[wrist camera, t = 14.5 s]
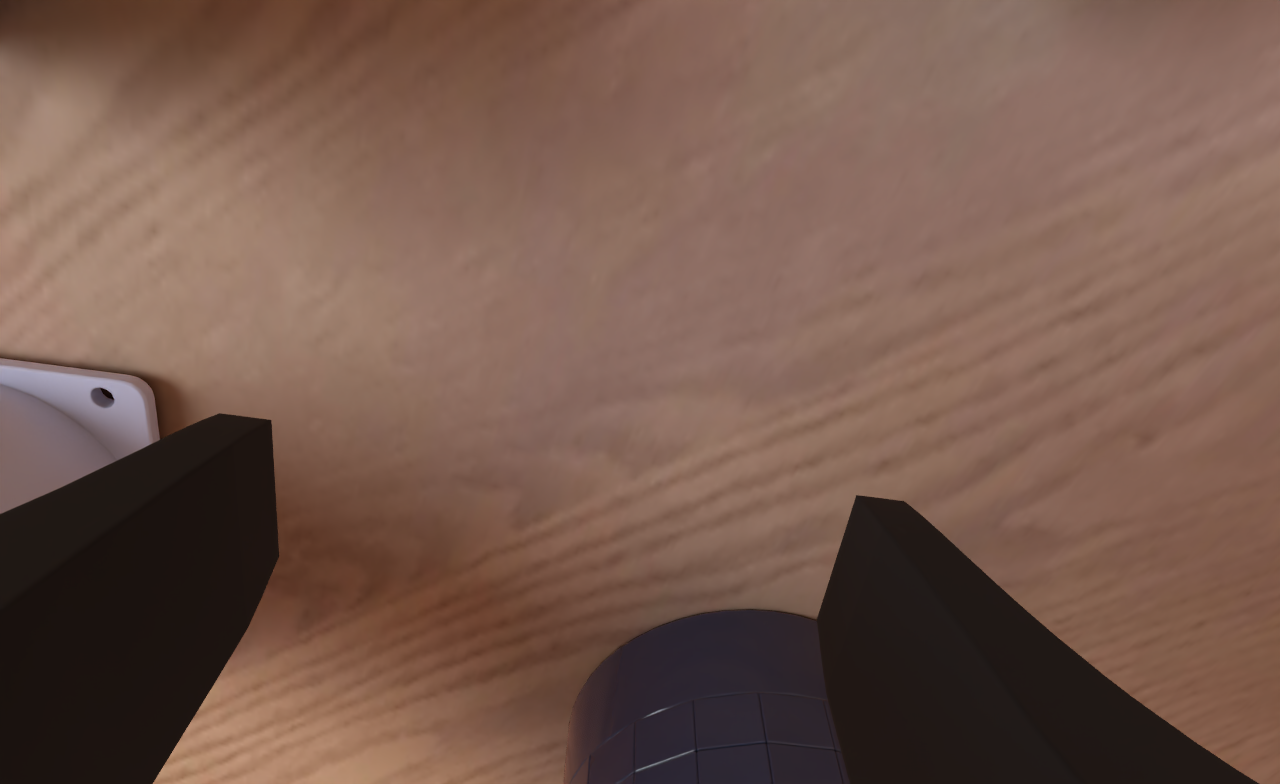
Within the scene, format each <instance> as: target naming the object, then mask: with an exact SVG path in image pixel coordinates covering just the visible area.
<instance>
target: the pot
mask: <svg viewBox="0 0 1280 784" xmlns="http://www.w3.org/2000/svg"><path fill="white" fill-rule="evenodd" d="M563 784H850V781H849V778H848V774H847V770H846V767H845V763H844V759H843V756H842V752H841V748H840V745H839V741H838V737H837V733H836V729H835V726H834V722H833V718H832V714H831V710H830V706H829V702H828V698H827V694H826V688H825V681H824V674H823V667H822V660H821V652H820V643H819V634H818V626H817V621H816V620H813V619H809V618H806V617H802V616H799V615H794V614H788V613H782V612H776V611H764V610H725V611H718V612H711V613H703V614H699V615H694V616H690V617H686V618H682V619H678V620H675V621H673V622H670V623H667V624H664V625H661V626H659V627H656V628H654V629H652V630H650V631H648V632H646V633H644V634H642V635H640V636H638V637H636V638H634V639H633V640H631V641H630V642H628V643H627V644H625V645H623V646H622V647H620V648H619V649H618V650H616V651H615V652H614V653H613V654H612V655H610V656H609V657H608V658H607V659H606V660H604V661H603V662H602V664H601V665H600V666H599V667H598V668H597V669H596V670H595V671H594V672H593V673H592V675H591V676H590V677H589V679H588V680H587V682H586V683H585V685H584V686H583V688H582V689H581V691H580V693H579V695H578V697H577V699H576V702H575V704H574V706H573V710H572V714H571V718H570V721H569V730H568V740H567V750H566V761H565V771H564V781H563Z"/></svg>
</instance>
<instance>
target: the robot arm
mask: <svg viewBox="0 0 1280 784" xmlns="http://www.w3.org/2000/svg"><path fill="white" fill-rule="evenodd" d="M100 388H103V389H106V390H108V391H109V392H110V393H111V394H112V395H113V397H114V399H115V400H112V399H109V398H107V397H106V396H105V395H104V394H103V393H102V391H101V389H100ZM278 557H279V547H278V529H277V512H276V494H275V476H274V459H273V441H272V424H271V420H267V419H259V418H251V417H243V416H236V415H228V414H217V415H214V416H212V417H209V418H207V419H204V420H202V421H199V422H197V423H195V424H193V425H190V426H188V427H186V428H184V429H182V430H180V431H177V432H175V433H173V434H171V435H169V436H167V437H165V438H163V439H161V440H160V436H159V428H158V421H157V413H156V405H155V397H154V394H153V391H152V389H151V388H150V386H149V385H148V384H147V383H146V382H145V381H143V380H142V379H140V378H138V377H135V376H132V375H126V374H118V373H111V372H103V371H95V370H88V369H80V368H72V367H65V366H57V365H49V364H42V363H34V362H26V361H19V360H11V359H3V358H0V784H153V782H154V780H155V779H156V777H157V775H158V774H159V772H160V771H161V769H162V767H163V766H164V764H165V763H166V761H167V759H168V758H169V756H170V754H171V753H172V751H173V750H174V748H175V746H176V745H177V743H178V741H179V740H180V738H181V737H182V735H183V733H184V732H185V730H186V729H187V727H188V725H189V724H190V722H191V720H192V719H193V717H194V716H195V714H196V712H197V711H198V709H199V707H200V706H201V704H202V703H203V701H204V699H205V698H206V696H207V695H208V693H209V691H210V690H211V688H212V686H213V685H214V683H215V681H216V680H217V678H218V677H219V675H220V673H221V672H222V670H223V668H224V667H225V665H226V663H227V662H228V660H229V658H230V657H231V655H232V653H233V652H234V650H235V648H236V647H237V645H238V643H239V642H240V640H241V638H242V637H243V635H244V633H245V632H246V630H247V628H248V626H249V624H250V622H251V620H252V617H253V615H254V613H255V611H256V609H257V606H258V604H259V602H260V600H261V598H262V595H263V593H264V591H265V588H266V586H267V584H268V581H269V579H270V576H271V574H272V572H273V569H274V567H275V565H276V562H277V560H278ZM817 626H818V634H819V643H820V652H821V660H822V667H823V674H824V681H825V688H826V694H827V698H828V702H829V706H830V710H831V714H832V718H833V722H834V726H835V729H836V733H837V737H838V741H839V745H840V748H841V752H842V756H843V759H844V763H845V767H846V770H847V774H848V778H849V781H850V784H1259V783H1257V782H1255V781H1254V780H1252V779H1251V778H1249V777H1247V776H1246V775H1244V774H1243V773H1241V772H1239V771H1238V770H1236V769H1235V768H1233V767H1232V766H1230V765H1229V764H1227V763H1226V762H1224V761H1223V760H1221V759H1220V758H1218V757H1217V756H1215V755H1214V754H1212V753H1211V752H1209V751H1208V750H1206V749H1205V748H1203V747H1202V746H1200V745H1199V744H1197V743H1196V742H1194V741H1193V740H1191V739H1190V738H1189V737H1187V736H1186V735H1184V734H1183V733H1182V732H1180V731H1179V730H1177V729H1176V728H1175V727H1173V726H1172V725H1170V724H1169V723H1168V722H1166V721H1165V720H1163V719H1162V718H1161V717H1159V716H1158V715H1156V714H1155V713H1154V712H1152V711H1151V710H1150V709H1148V708H1147V707H1145V706H1144V705H1143V704H1141V703H1140V702H1138V701H1137V700H1136V699H1134V698H1133V697H1131V696H1130V695H1129V694H1128V693H1126V692H1125V691H1124V690H1122V689H1121V688H1120V687H1118V686H1117V685H1116V684H1114V683H1113V682H1112V681H1111V680H1109V679H1108V678H1107V677H1105V676H1104V675H1103V674H1102V673H1100V672H1099V671H1098V670H1097V669H1095V668H1094V667H1093V666H1092V665H1091V664H1089V663H1088V662H1087V661H1086V660H1084V659H1083V658H1082V657H1081V656H1080V655H1078V654H1077V653H1076V652H1075V651H1073V650H1072V649H1071V648H1070V647H1069V646H1067V645H1066V644H1065V643H1064V642H1062V641H1061V640H1060V639H1059V638H1057V637H1056V636H1055V635H1054V634H1053V633H1052V632H1050V631H1049V630H1048V629H1047V628H1046V627H1045V626H1043V625H1042V624H1041V623H1040V622H1039V621H1038V620H1036V619H1035V618H1034V617H1033V616H1032V615H1031V614H1030V613H1028V612H1027V611H1026V610H1025V609H1024V608H1023V607H1022V606H1021V605H1019V604H1018V603H1017V602H1016V601H1015V600H1014V599H1013V598H1012V597H1010V596H1009V595H1008V594H1007V593H1006V592H1005V591H1004V590H1003V589H1002V588H1000V587H999V586H998V585H997V584H996V583H995V582H994V581H993V580H992V579H991V578H989V577H988V576H987V575H986V574H985V573H984V572H983V571H982V570H981V569H980V568H979V567H977V566H976V565H975V564H974V563H973V562H972V561H971V560H970V559H969V558H968V557H967V556H966V555H965V554H963V553H962V552H961V551H960V550H959V549H958V548H957V547H956V546H955V545H954V544H953V543H952V542H950V541H949V540H948V539H947V538H946V537H945V536H944V535H943V534H942V533H941V532H940V531H938V530H937V529H936V528H935V527H934V526H933V525H932V524H931V523H930V522H928V521H927V520H926V519H925V518H924V517H923V516H922V515H920V514H919V513H918V512H917V511H916V510H914V509H913V508H912V507H911V506H909V505H908V504H907V503H905V502H904V501H897V500H889V499H882V498H874V497H866V496H858V495H856V498H855V502H854V505H853V508H852V511H851V514H850V517H849V520H848V524H847V527H846V530H845V533H844V536H843V539H842V542H841V546H840V549H839V552H838V555H837V558H836V561H835V564H834V568H833V571H832V574H831V577H830V580H829V583H828V586H827V590H826V593H825V596H824V599H823V602H822V605H821V608H820V612H819V615H818V618H817Z"/></svg>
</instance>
